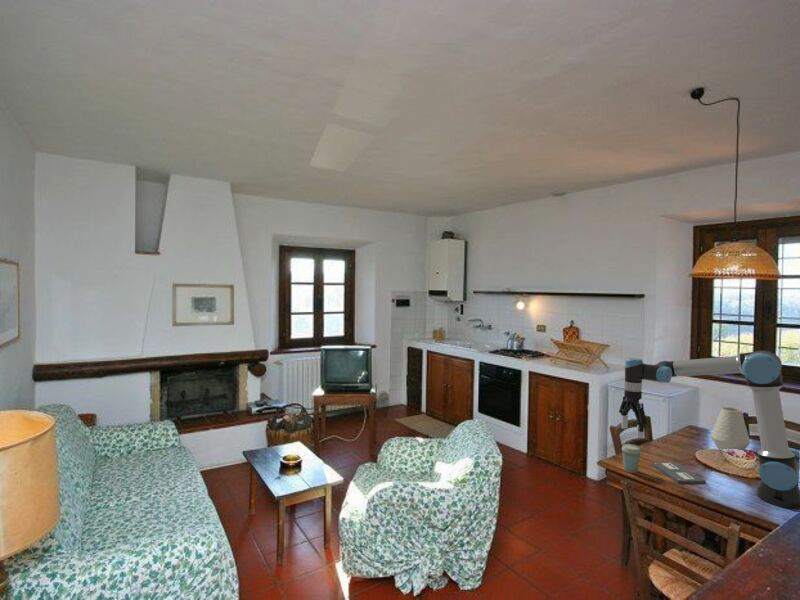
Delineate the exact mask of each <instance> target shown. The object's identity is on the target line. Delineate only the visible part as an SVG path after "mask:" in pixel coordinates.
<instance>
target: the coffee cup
mask: <svg viewBox="0 0 800 600" xmlns="http://www.w3.org/2000/svg"><path fill="white" fill-rule="evenodd" d="M621 452H622V461H623V470H624V471H625V472H626V473H630V474H637V473H638V471H639V469H638V468H639V464H640V458H641V454H642V450H641V448H640V447H639V446H638V445H636V444H633V443H632V444H631V443H624V444H623V445H622V447H621Z"/></svg>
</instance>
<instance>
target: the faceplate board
mask: <svg viewBox="0 0 800 600" xmlns="http://www.w3.org/2000/svg"><path fill="white" fill-rule="evenodd" d="M651 466H652V467H653V468H656V469H657V470H658V471H660V472H661V473H662V472H663V473H662V474H664V475H665V474H666V475H665V476H666V477H668V476H669V477H668V478H670V479H671V480H672V479H673V481H674V482H675V481H676V482H675V483H677V484H706V480H705V479H703V478H702V477H701V476H699V475H698V474H696V473H694V472H692V471H691V470H690V469H688V468H687V467H684V466H683V465H682V464H680V463H678V462H652V463H651Z"/></svg>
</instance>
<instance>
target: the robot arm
mask: <svg viewBox="0 0 800 600" xmlns="http://www.w3.org/2000/svg"><path fill="white" fill-rule="evenodd" d="M624 363H625V364H624V393H623V394H624V395H623V397H622V401H621V404H620V407H619V411H618V413H620V415H621V429H623V430H624V429H626V430H627V429H628V426H629V425H628V423H629V421H628V420H629V415H628V413H629V412H630V410H632V412H633V413H634V415H635V418H636V422H637V424H636V438H637V439H644V431H645V430H644V429H645V426H647V425H648V422H647V418H646V417H647V416H646V413H645V408H644V403H643V402H640V400H641V399H642V398H643V396H642V395H643V394H642V393H643V392H642V389H643V381H645V380H646V381H651V382H658V383H667V384H668V383H671V380H672V378H675V377H676V378H677V377H688V376H690V377H691V376H710V375H711V376H712V375H727V374H728V375H730V374H731V375H733V374H742V375H743V376H744V378H745V382H746V387H748V389H750V390H751V391H752V398H753V404H754V408H755V409H754V411H755V416H756V423H757V429H758V436H759V440H760V445H761V446H760V447H761V448H760V449H759V450H757V456H758V463H759V468H758V476H759V477H760V480H761V481H760V483H759V484H758V485H759V486H758V487H757V488H756V496H757V497H758V498H759V499H760V500H762V501H764V502H766V503H768V504H771V505H774V506H777V507H781V508H785V509H795V508H798V509H800V488H799V480H800V479H799V478H800V451H799V450H797V449H795V448H792V447H790V446H789V444H788V438H787V437H788V436H787V431H786V424H785V417H784V412H783V406H782V399H781V394H780V389H782V387H784V382H783V375H782V367H783V364H782V360H781V359H780V357H779V356H778V355H777V354H776V353H774V352H771V351H769V350H765V349H764V350H756V351H755V350H754V351H751V352H740V353H738V354H737V355H733V356H721V357H709V358H707V357H706V358H696V359H695V358H694V359H684V360H670V361H668V360H661V361H659V362H658V363H656V364H646V363H644V361H643V359H641V358H637V357H629V358H626V359H625V362H624Z"/></svg>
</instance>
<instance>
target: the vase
mask: <svg viewBox="0 0 800 600" xmlns="http://www.w3.org/2000/svg"><path fill="white" fill-rule="evenodd" d="M748 433H749V432H748V430H747V426H746V422H745V419H744V415H743V413H742V410H741V409H739V408H734V407H729V406H728V407H727V406H723V407H721V408H720V410H719V413H718V416H717V419H716V420H715V423H714V426H713V428H712V430H711V433H710V438H711V439H712V440H713V443H714V444H715V446H716V448H717V449H718V450H719V451H720V449H738V450H744V451H746V449H747V447H749V446H750V444H751V440H750V436H749V434H748Z"/></svg>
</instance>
